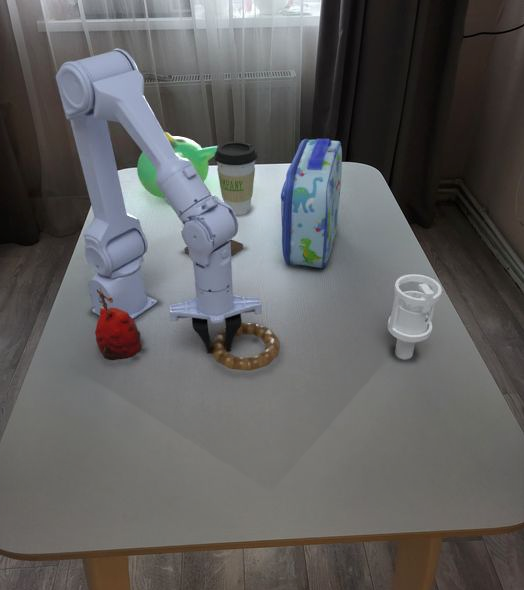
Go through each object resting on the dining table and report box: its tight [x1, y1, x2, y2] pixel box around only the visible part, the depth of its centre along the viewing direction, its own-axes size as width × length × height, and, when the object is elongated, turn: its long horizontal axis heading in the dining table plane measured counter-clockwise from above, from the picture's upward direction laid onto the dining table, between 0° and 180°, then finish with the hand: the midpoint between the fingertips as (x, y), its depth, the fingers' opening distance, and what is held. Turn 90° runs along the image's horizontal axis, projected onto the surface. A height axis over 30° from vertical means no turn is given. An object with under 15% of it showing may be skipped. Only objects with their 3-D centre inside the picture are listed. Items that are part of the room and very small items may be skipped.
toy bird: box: [136, 131, 219, 200], centre depth 136 cm, size 18×17×15 cm
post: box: [184, 238, 244, 257], centre depth 118 cm, size 9×9×8 cm
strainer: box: [387, 273, 442, 360], centre depth 91 cm, size 7×7×15 cm
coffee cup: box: [213, 140, 258, 216], centre depth 130 cm, size 10×10×15 cm
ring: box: [211, 322, 281, 371], centre depth 95 cm, size 12×12×2 cm
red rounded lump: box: [94, 287, 142, 361], centre depth 91 cm, size 8×7×15 cm
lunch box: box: [280, 138, 343, 269], centre depth 116 cm, size 26×11×21 cm, turn 168°
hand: (218, 348), depth 94 cm, fingers closed on ring, 2 cm apart
